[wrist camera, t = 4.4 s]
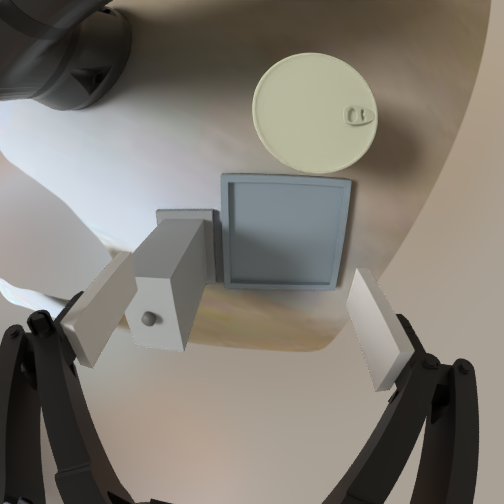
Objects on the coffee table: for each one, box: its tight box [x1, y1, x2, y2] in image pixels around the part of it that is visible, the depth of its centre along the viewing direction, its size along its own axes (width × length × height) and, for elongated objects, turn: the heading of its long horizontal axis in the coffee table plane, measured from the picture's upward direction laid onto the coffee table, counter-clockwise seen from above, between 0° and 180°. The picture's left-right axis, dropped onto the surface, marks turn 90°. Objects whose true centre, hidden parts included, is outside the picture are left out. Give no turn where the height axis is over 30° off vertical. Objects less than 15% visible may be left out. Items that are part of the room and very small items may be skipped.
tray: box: [221, 173, 352, 290], centre depth 32 cm, size 15×15×1 cm
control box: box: [125, 209, 217, 352], centre depth 28 cm, size 10×7×15 cm
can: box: [252, 53, 378, 174], centre depth 21 cm, size 9×9×12 cm
